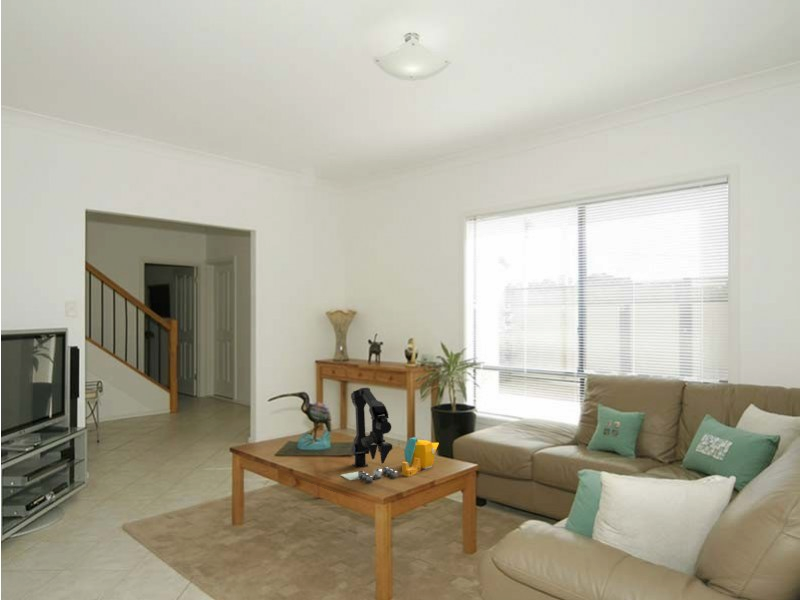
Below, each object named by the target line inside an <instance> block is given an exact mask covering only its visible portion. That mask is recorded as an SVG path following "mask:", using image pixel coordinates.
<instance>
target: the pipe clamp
mask: <svg viewBox="0 0 800 600" xmlns="http://www.w3.org/2000/svg"><path fill="white" fill-rule="evenodd" d="M420 470H422V469H421V464H420V458H414V463H413V465H412V466H411V467H409V465H408V462H405V461H402V462H401V476H404V477H412V476H414V475H417V473H418V472H421V471H420Z"/></svg>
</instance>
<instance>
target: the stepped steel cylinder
mask: <svg viewBox="0 0 800 600" xmlns="http://www.w3.org/2000/svg"><path fill="white" fill-rule="evenodd" d="M372 475H373V480H381V479H382V478H383V468H379V467H378V468H374V469H373V474H372Z"/></svg>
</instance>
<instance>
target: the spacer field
mask: <svg viewBox="0 0 800 600" xmlns="http://www.w3.org/2000/svg"><path fill="white" fill-rule="evenodd" d="M357 472H358V477H359V478H360V479H359V480H361V481H363V482H366V483H367V484H372V483H374V478H373V474H370V473H369V472H366V471H364V470H359V471H357ZM382 475H386V477H390V478H391V479H397V478H398V470H397V469H396V470H395V469H394V468H391V467H389V466H383V467H382Z"/></svg>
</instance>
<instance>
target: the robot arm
mask: <svg viewBox="0 0 800 600" xmlns="http://www.w3.org/2000/svg"><path fill="white" fill-rule="evenodd" d="M350 398H351V403H352V405H353V406H354V408H355V429H356V431H355V433H356V435H355V437H354V439H353V444H352V446H351V448H350V454H351V455H352V456H354V462H353V463H352V466H354V467H356V468H364V467H368V466H369V464H368V463H366V462H367V461H366V459H367V458H366V455H370V457H371V459H372V460H374V459H375V457H376V453H377V451H378V452H379V454H380V461H381V464H384V463H385V461H386V459H387V457H388V455H389V453H390V452H391V450H393V444H392V443H390V442H386V439H384V437H385V436H384V435H386V434H389V433H390V432H391V430H392V424H391V423H390V421H389V420H388V419H389V412H388V409H387V407H386V405H385V404H384V403H383V402H382V401H381V400H378V399H377V398H376V397H375V395H374V393H372V392H371V388H370V387H360V388H359V389H357V390H353V392H351V394H350ZM366 405H368V407H369V409H368V412H369V414H370V416H371V417H370V419H371V430H370V431H369V435H368V434H367V435H366V418H365V417H366V416H365V413H366V412H365V407H366Z"/></svg>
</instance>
